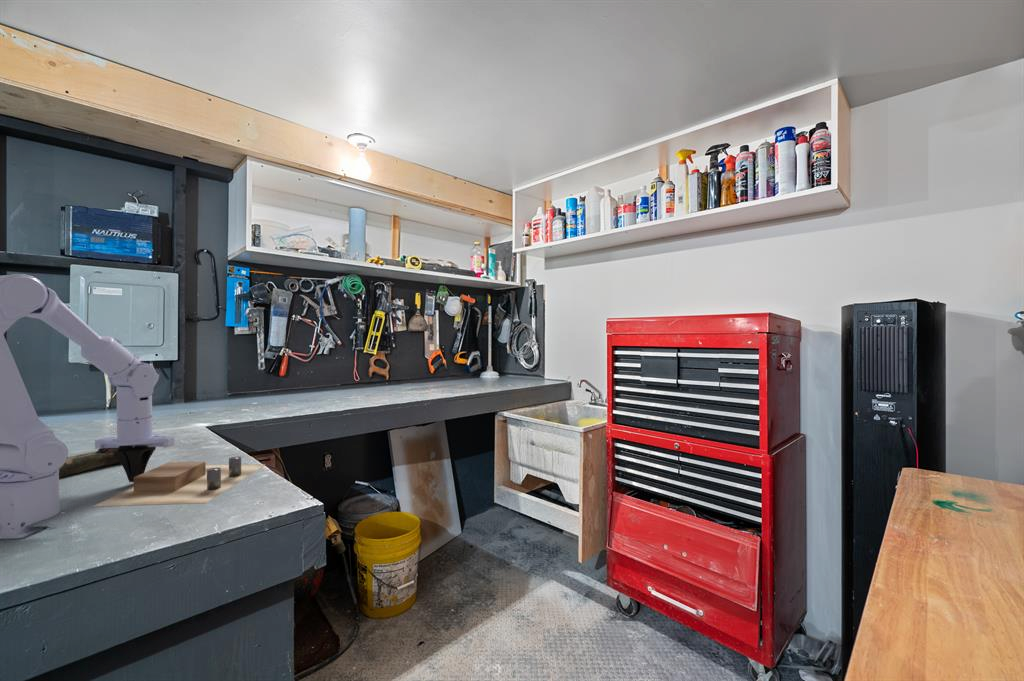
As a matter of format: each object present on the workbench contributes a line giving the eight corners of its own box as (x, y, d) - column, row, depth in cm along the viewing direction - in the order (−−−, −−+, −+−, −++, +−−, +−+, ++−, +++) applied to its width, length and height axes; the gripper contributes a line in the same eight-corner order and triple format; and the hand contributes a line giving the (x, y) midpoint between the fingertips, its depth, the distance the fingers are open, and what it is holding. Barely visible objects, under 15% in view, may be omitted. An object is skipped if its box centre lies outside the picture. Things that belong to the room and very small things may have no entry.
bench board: (205, 510, 82) (205, 482, 82) (92, 514, 80) (92, 485, 80) (265, 470, 106) (265, 448, 106) (180, 472, 104) (179, 449, 104)
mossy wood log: (55, 481, 98) (54, 457, 98) (41, 477, 101) (41, 454, 101) (146, 460, 115) (146, 439, 114) (132, 457, 117) (132, 436, 117)
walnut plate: (175, 490, 88) (175, 476, 88) (133, 492, 88) (133, 477, 87) (205, 474, 98) (205, 461, 98) (168, 475, 97) (168, 462, 97)
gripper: (183, 413, 97) (184, 473, 97) (114, 414, 95) (115, 475, 96) (160, 420, 90) (161, 484, 90) (85, 421, 88) (86, 486, 89)
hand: (135, 480), depth 92 cm, fingers closed
